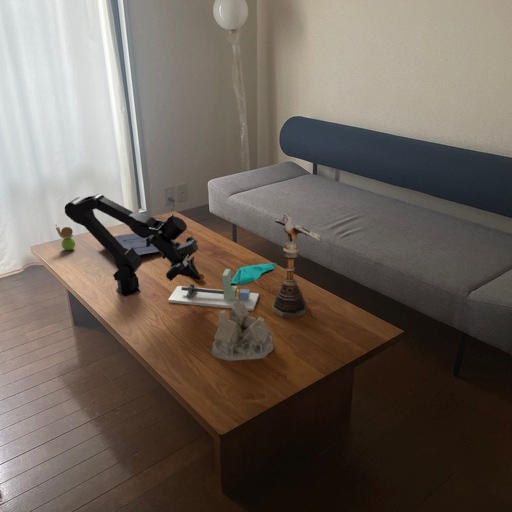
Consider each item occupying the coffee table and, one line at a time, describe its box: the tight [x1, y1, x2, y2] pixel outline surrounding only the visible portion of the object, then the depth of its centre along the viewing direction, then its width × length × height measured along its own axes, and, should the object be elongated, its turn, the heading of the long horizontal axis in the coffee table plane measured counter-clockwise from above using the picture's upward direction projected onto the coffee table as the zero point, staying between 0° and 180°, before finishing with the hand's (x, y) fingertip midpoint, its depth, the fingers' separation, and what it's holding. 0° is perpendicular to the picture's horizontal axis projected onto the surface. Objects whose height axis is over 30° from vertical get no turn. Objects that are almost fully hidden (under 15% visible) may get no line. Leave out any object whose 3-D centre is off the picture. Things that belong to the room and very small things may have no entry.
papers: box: [113, 231, 177, 256], centre depth 218 cm, size 24×30×4 cm
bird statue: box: [271, 213, 322, 319], centre depth 167 cm, size 17×13×35 cm
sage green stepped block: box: [221, 268, 238, 300], centre depth 175 cm, size 4×5×10 cm
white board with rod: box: [167, 282, 260, 312], centre depth 178 cm, size 30×10×5 cm, turn 78°
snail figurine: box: [55, 224, 76, 251], centre depth 215 cm, size 5×6×12 cm
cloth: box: [231, 262, 277, 286], centre depth 196 cm, size 26×14×2 cm, turn 124°
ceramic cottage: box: [210, 297, 275, 362], centre depth 150 cm, size 16×16×15 cm
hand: (200, 279), depth 177 cm, fingers closed
